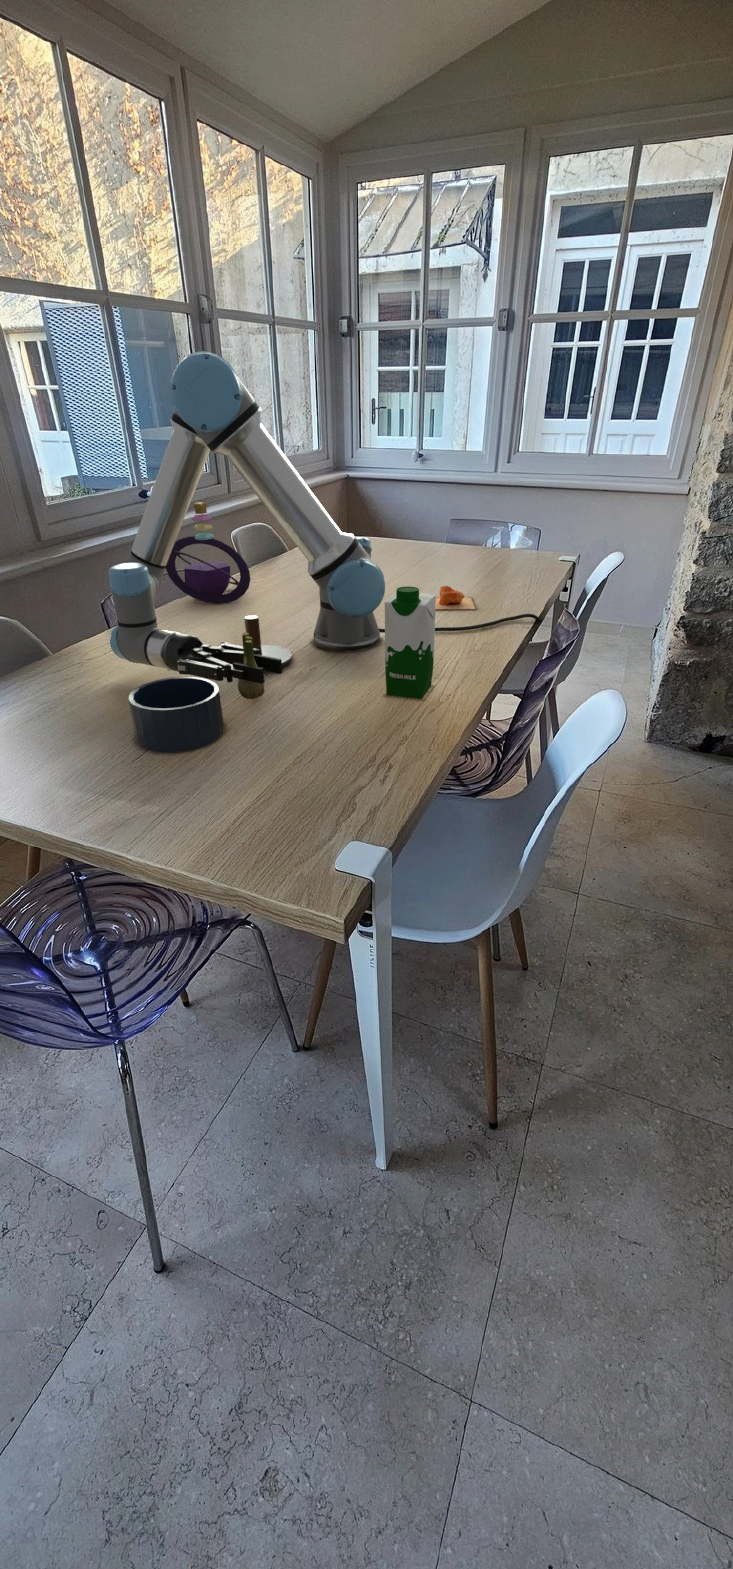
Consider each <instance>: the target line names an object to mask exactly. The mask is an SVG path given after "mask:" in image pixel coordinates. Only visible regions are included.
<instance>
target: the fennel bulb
mask: <svg viewBox="0 0 733 1569" xmlns="http://www.w3.org/2000/svg"><path fill="white" fill-rule="evenodd" d="M241 638H242V639H241V640H242V641H241V642H242V646H243V653H244V664H245V665H250V666H255V667H257V664H256V662H255V660H254V653H253V638H252V637H250V636H249V634H248V633H246V632H243V633H242V635H241ZM237 690H238V693H239V694H240V695H241V697H242V698H244V699H247V700H256V699H258V698H260V697H262V696H263V695H264V693H265V683H263V684H261V683H256V682H251V681H247V680H242V679H238V681H237Z"/></svg>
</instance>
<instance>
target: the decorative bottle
mask: <svg viewBox="0 0 733 1569" xmlns="http://www.w3.org/2000/svg"><path fill="white" fill-rule="evenodd" d="M207 507H208V504H207V502H203V501H202V502H194V503H193V508H194V513H195V514H194V515H193V517H192V518H191V520H192V521H193V522H206V521H211V520H212V519H213V517H212V516H211V515H210V514H208V511H207ZM213 528H214V526H213V525H212V524H209V523H196V524H195V525H194V526H193V527H192V529H193V530H194V531H196V532H197V531H198V533H196V535H188V536H185V537H182V538H179V539H176V541H175V544H174V547H173V549H172V552H171V555H170V557H169V560H168V562H167V565H166V568H165V571H166V573H167V575H168V577H169V579H170V580H171V582H172V583H173V584H174V585H175V586H176V587H177V588H178V589H179V590H180V591H181V592H183V593H184V594H186V595H187V596H189V597H191V598H193V599H194V600H198V601H200V602H204V603H207V604H208V603H209V604H215V605H219V604H221V605H222V604H229V603H232V602H235V601H237V600H239V599H240V598H241V597H243V596H244V595H245V594H246V593H247V591H248V590H249V588H250V584H251V571H250V568H249V567H248V564H247V562H246V561H245V559H244V558H243V557H242V555H241V554H240V553H239V552H238V551H237V550H235V549H234V548H233V547H232V546H230V545H228V544H227V543H225V542H223V541H221V540H219V539H217V538H214V537H215V535H214V534H213V533H211V532H210V533H209V532H206V531H208V530H209V531H210V530H213ZM202 531H203V532H202ZM199 532H200V533H199ZM192 545H208V546H211V547H214V548H218V549H219V550H221V551H223V552H224V553H226V555H227V556H229V557H231V558H232V560H233V562H234V563H236V565H237V568H238V570H239V581H238V579H236V578H235V577H233V576H232V575H231V565H230V564H228V563H226V562H225V561H223V560H214V561H206V560H202V559H200V558H198V557H196V556H193V555H191V554H189V553H186V552H182V551H181V550H183V549H185V548H186V547H189V546H192ZM215 554H216V555H217V552H216V553H215ZM182 556H185V557H188V558H191V559H192V562H190V561H189V560H187V559H185V558H184V557H182ZM177 557H178V558H179V559H180V560H182V561H183V562H184V563H187V564H188V566H186V567H184V570H183V571H184V573H183V574H184V580H183V579H182V578H181V576H180V575H179V573H178V570H177V566H176V559H177ZM193 560H196V561H195V562H194V561H193ZM197 561H198V562H197ZM231 580H232V581H231ZM231 584H232V585H235V586H236V587H235V588H234V589H232V590H231V591H230V592H227V593H225V592H226V590H227V588H228V587H229V585H231Z"/></svg>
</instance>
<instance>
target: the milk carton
mask: <svg viewBox="0 0 733 1569" xmlns="http://www.w3.org/2000/svg"><path fill="white" fill-rule="evenodd" d="M436 598H437V594H434V593H420V588H419V587H416V586H400V587H397V588H396V592H395V593H394V594H391V595H390V596H389V597H388V598H387V599H386V600H385V601H383V602H384V603H383V604H384V629H385V633H384V678H385V690H386V694H385V695H386V696H389V697H397V698H404V699H405V698H406V699H415V700H423V699H424V697H425V696H426V694H427V693H428V692H429V690H430V689H431V687H432V682H433V673H434V664H435V662H434V661H435V639H436V638H435V637H436V631H435V628H436V609H435V602H436Z"/></svg>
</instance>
